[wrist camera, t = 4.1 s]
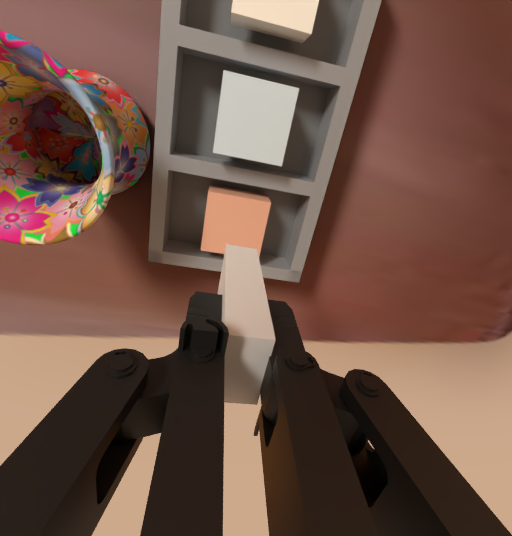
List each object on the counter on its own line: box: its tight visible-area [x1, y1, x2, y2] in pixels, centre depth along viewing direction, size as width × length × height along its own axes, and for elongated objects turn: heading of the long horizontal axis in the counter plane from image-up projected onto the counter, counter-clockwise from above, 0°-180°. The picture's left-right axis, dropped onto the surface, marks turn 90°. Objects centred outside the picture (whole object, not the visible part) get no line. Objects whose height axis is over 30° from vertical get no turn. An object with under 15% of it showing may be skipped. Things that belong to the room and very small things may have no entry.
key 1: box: [201, 184, 271, 256], centre depth 23 cm, size 4×4×2 cm
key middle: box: [213, 70, 299, 166], centre depth 19 cm, size 4×4×2 cm
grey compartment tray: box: [148, 0, 382, 283], centre depth 22 cm, size 22×12×4 cm, turn 169°
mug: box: [0, 31, 150, 245], centre depth 19 cm, size 12×9×11 cm
